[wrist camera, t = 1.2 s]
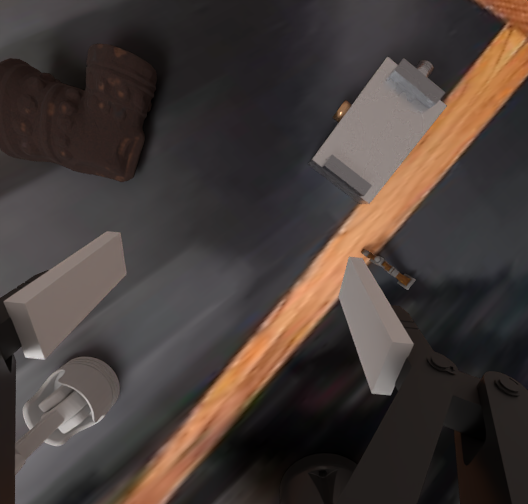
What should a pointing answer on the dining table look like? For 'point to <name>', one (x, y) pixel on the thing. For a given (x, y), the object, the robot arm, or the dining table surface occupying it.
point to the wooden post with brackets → (390, 269)
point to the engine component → (67, 405)
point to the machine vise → (379, 128)
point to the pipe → (79, 113)
